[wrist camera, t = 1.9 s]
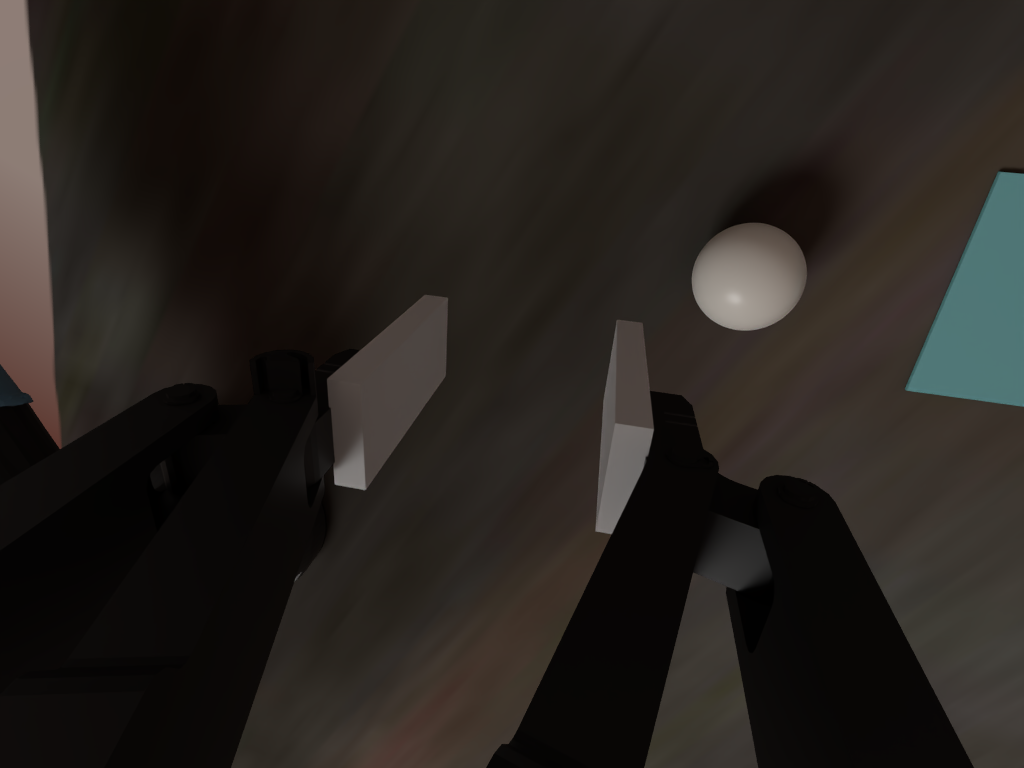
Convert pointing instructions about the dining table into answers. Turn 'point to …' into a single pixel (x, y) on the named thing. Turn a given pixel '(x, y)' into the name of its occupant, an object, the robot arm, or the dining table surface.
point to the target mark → (982, 309)
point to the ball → (749, 276)
